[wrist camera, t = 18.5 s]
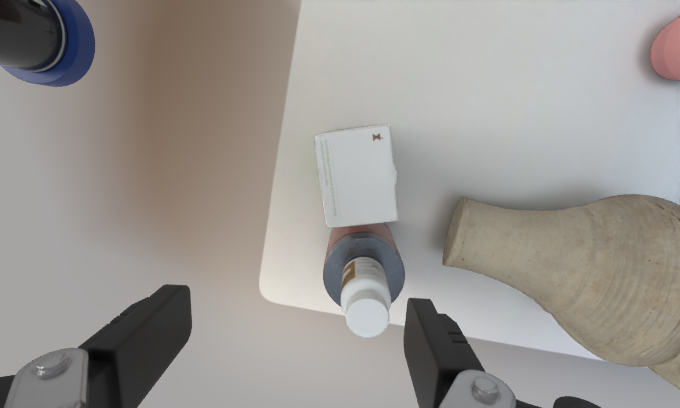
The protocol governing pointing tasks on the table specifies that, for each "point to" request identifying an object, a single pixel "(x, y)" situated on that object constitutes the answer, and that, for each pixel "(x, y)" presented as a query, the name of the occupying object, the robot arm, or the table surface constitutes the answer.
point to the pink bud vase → (667, 51)
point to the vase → (587, 270)
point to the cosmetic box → (357, 176)
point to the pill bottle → (365, 297)
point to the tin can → (362, 243)
